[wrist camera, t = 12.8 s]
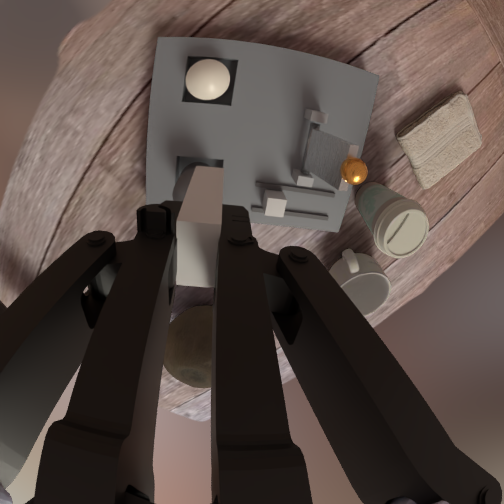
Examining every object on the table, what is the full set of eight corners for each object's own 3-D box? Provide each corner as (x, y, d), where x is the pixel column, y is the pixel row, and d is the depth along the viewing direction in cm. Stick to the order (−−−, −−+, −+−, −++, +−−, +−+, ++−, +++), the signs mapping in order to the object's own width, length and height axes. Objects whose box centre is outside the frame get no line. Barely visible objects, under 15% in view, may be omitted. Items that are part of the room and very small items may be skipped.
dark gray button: (179, 195, 36) (171, 213, 32) (181, 160, 34) (173, 173, 29) (214, 198, 37) (212, 216, 32) (218, 163, 35) (217, 177, 30)
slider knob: (262, 205, 38) (264, 215, 36) (265, 189, 37) (267, 197, 34) (279, 207, 38) (283, 217, 36) (282, 191, 37) (287, 200, 35)
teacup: (373, 283, 53) (389, 310, 47) (322, 297, 54) (334, 327, 47) (373, 223, 46) (394, 248, 39) (314, 238, 47) (328, 267, 40)
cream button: (189, 96, 32) (183, 98, 27) (194, 62, 29) (188, 57, 24) (227, 99, 32) (226, 101, 28) (232, 65, 30) (232, 61, 25)
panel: (152, 202, 41) (140, 223, 35) (165, 41, 28) (151, 33, 22) (330, 220, 45) (345, 243, 39) (366, 75, 32) (390, 76, 26)
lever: (293, 170, 34) (343, 205, 26) (303, 120, 30) (361, 142, 23) (311, 171, 35) (363, 206, 27) (322, 124, 31) (380, 147, 24)
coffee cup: (383, 164, 40) (426, 194, 30) (397, 207, 44) (435, 243, 34) (339, 188, 42) (372, 224, 32) (356, 229, 46) (387, 271, 36)
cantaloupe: (200, 275, 49) (194, 343, 36) (254, 316, 55) (261, 380, 43) (153, 314, 53) (140, 376, 41) (205, 346, 60) (203, 406, 47)
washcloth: (477, 139, 37) (487, 144, 35) (418, 189, 43) (428, 196, 40) (456, 85, 32) (467, 87, 29) (391, 134, 38) (401, 139, 35)
